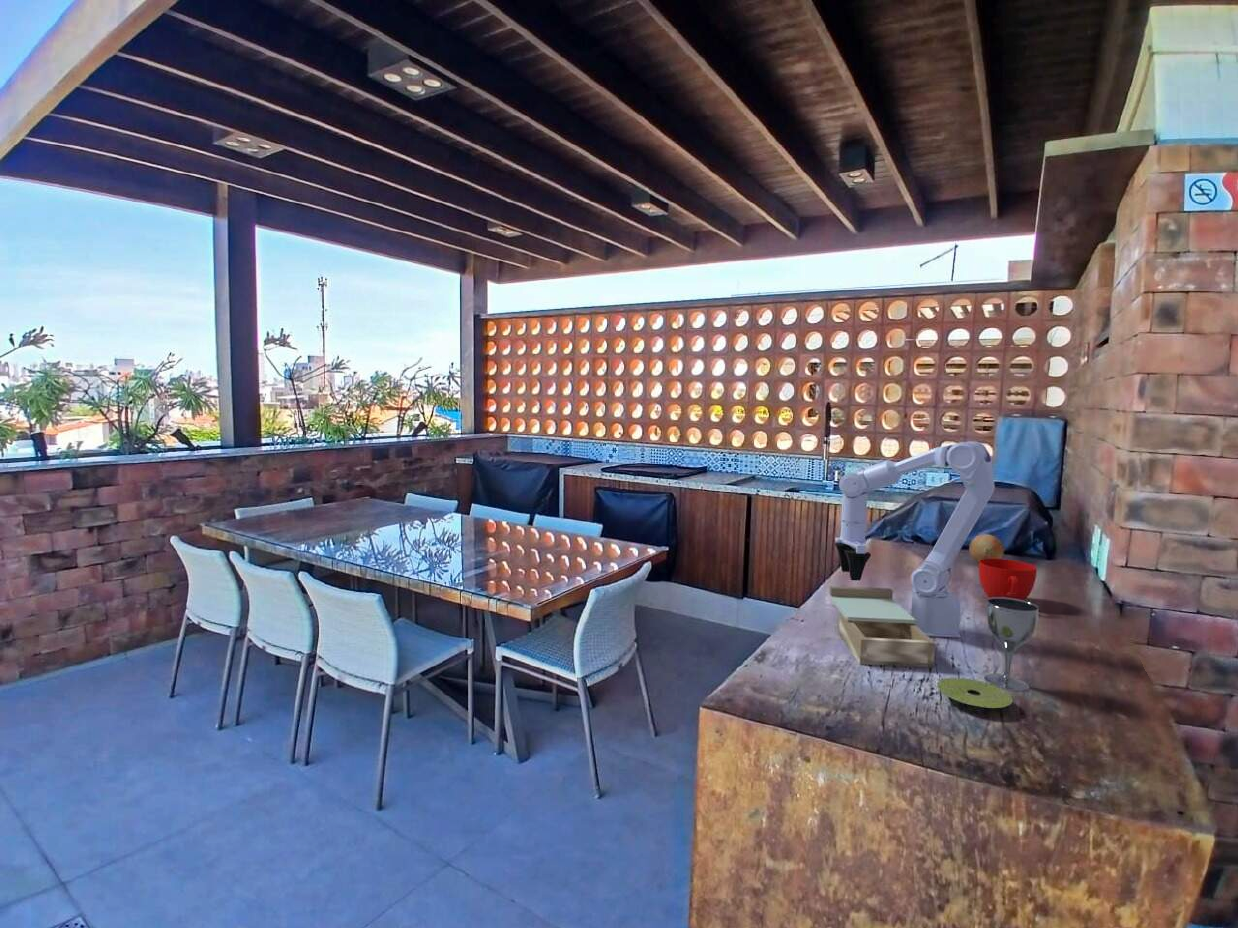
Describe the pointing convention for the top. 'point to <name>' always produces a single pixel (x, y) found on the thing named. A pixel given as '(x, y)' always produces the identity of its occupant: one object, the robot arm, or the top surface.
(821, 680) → the top surface
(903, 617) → the lid
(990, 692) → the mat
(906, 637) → the box
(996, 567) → the ceramic cup
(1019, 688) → the wine glass
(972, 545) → the onion
